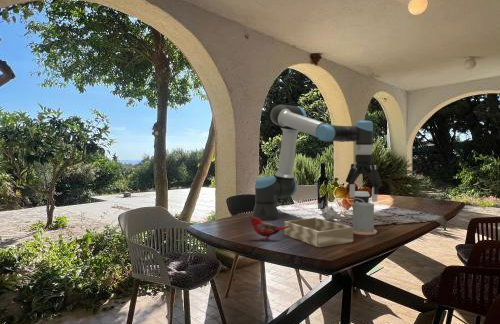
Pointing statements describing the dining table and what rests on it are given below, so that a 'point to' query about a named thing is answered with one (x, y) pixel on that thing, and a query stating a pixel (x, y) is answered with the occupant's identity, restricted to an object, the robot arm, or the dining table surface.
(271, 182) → the robot arm
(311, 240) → the pine crate
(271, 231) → the decorative bird figurine
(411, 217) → the dining table surface
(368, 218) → the white upright block
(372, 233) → the terracotta tile
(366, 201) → the coffee cup
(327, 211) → the grey rock
